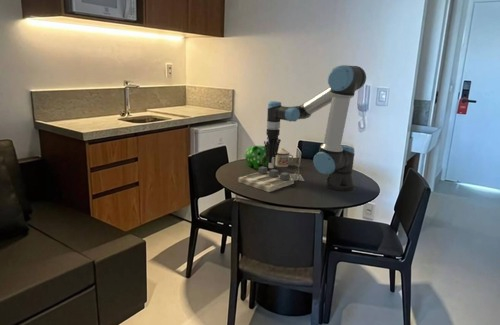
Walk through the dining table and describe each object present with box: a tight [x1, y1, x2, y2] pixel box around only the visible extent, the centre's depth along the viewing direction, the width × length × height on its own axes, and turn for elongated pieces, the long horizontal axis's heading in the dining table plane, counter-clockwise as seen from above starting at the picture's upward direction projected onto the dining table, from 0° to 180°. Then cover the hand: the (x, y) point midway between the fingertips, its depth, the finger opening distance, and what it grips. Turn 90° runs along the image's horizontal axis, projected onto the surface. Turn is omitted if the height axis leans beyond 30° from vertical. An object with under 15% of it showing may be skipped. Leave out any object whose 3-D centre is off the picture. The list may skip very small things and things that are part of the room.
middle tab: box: [268, 168, 279, 177], centre depth 208 cm, size 4×4×3 cm
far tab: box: [257, 166, 268, 174], centre depth 213 cm, size 4×4×3 cm
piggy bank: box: [244, 145, 269, 170], centre depth 234 cm, size 14×18×15 cm
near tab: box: [279, 172, 291, 180], centre depth 203 cm, size 4×4×3 cm
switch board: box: [237, 171, 295, 193], centre depth 205 cm, size 22×22×3 cm
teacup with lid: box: [274, 147, 294, 168], centre depth 240 cm, size 12×9×12 cm
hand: (270, 167), depth 219 cm, fingers closed
